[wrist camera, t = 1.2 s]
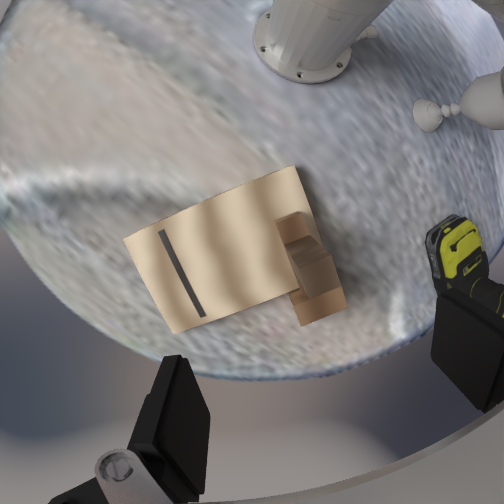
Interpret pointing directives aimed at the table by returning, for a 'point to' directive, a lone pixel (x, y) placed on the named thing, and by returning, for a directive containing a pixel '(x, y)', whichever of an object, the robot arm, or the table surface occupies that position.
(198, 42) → the table surface
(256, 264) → the birch board
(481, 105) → the chalice
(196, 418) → the robot arm
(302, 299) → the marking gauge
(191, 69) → the table surface
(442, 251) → the power drill
